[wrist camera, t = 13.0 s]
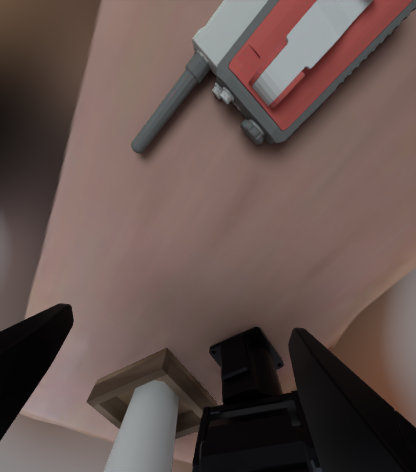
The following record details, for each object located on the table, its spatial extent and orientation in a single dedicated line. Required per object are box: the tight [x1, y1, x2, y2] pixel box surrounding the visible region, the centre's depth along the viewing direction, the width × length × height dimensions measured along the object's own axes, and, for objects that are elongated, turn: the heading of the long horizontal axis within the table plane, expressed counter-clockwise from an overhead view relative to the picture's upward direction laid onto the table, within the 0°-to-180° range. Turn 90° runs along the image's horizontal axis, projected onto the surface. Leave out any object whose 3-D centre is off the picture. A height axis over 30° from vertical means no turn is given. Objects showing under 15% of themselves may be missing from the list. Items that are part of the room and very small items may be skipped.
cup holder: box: [87, 348, 216, 439], centre depth 27 cm, size 11×11×3 cm
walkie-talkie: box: [131, 0, 416, 153], centre depth 14 cm, size 9×4×20 cm
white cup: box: [103, 380, 179, 472], centre depth 23 cm, size 7×7×10 cm
